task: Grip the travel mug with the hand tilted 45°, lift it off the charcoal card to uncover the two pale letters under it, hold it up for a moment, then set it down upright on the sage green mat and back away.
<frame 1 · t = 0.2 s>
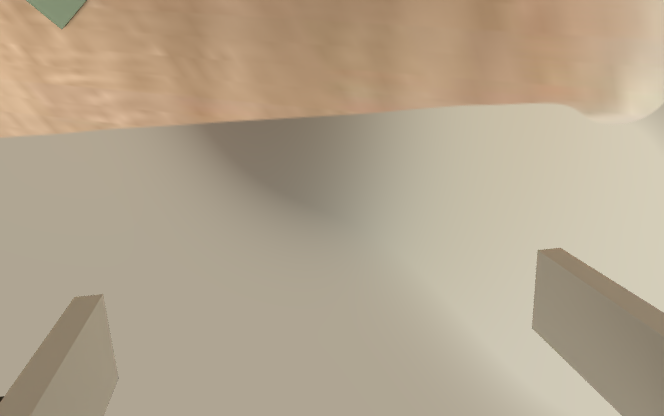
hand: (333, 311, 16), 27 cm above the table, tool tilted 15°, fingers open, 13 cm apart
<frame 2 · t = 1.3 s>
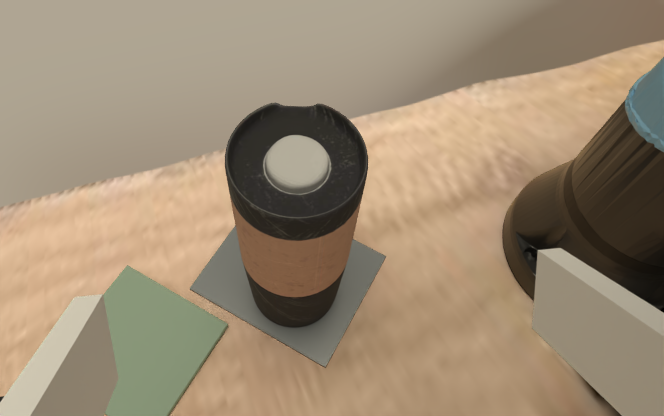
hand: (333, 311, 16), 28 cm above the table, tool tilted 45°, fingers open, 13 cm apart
sage green mat: (139, 348, 42), on the table
code card: (294, 287, 45), on the table
travel mug: (294, 287, 45), resting on code card
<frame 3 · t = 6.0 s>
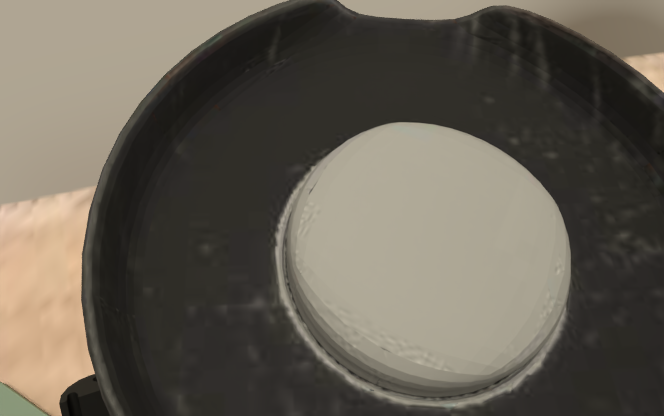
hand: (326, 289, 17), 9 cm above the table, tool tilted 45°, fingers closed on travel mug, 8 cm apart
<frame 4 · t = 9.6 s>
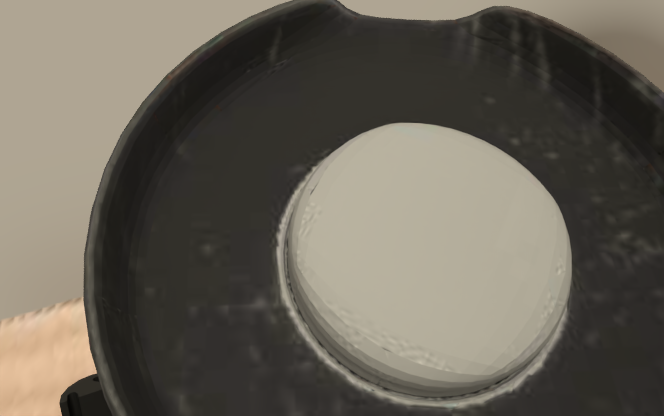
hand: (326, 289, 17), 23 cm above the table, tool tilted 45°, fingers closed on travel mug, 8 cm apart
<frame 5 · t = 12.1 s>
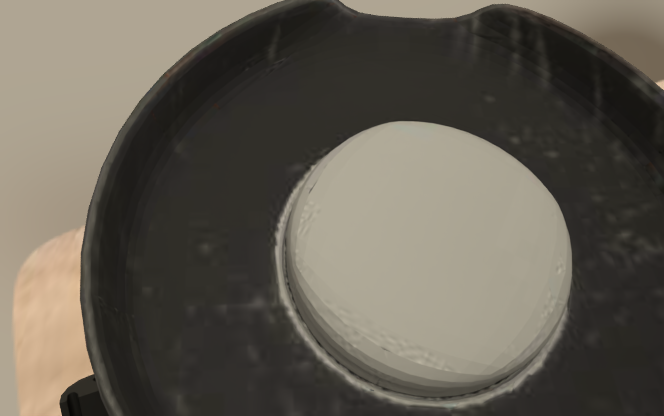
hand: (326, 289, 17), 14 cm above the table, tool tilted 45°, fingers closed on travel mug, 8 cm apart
when the fingers open (10 cm above the table, at t = 13.2 s): travel mug drops 2 cm, resting on sage green mat.
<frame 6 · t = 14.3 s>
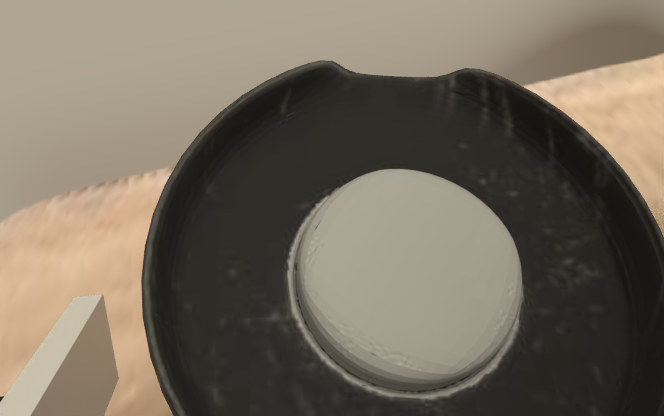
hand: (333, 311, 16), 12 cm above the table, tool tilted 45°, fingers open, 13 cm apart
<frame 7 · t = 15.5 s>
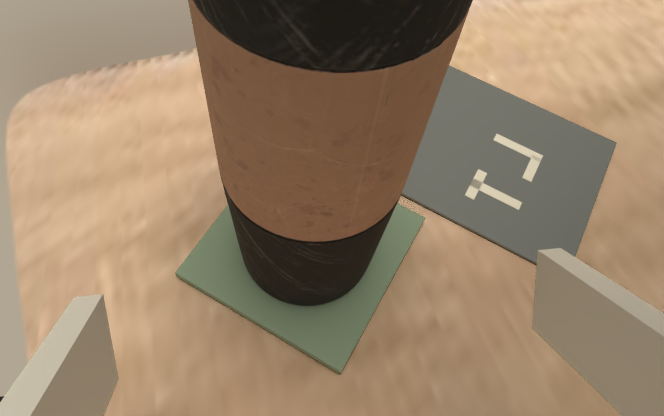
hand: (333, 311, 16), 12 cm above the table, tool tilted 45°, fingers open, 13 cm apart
sage green mat: (305, 248, 30), on the table
code card: (503, 177, 33), on the table
travel mug: (306, 246, 29), resting on sage green mat
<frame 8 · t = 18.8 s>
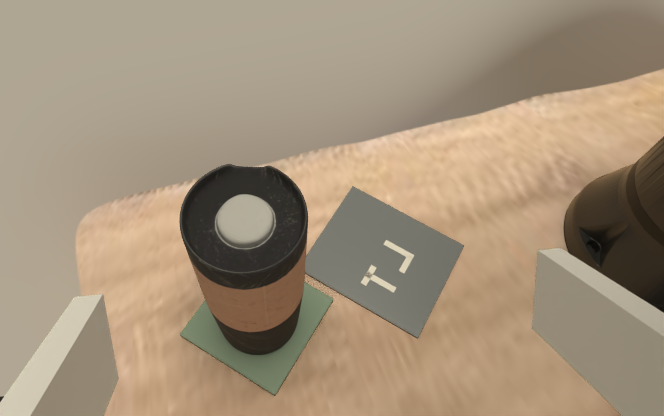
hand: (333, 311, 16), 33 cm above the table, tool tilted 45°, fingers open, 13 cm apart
sage green mat: (259, 318, 49), on the table
code card: (387, 270, 52), on the table
travel mug: (259, 317, 48), resting on sage green mat
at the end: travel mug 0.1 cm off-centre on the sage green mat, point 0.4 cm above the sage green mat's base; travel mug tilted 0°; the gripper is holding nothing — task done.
